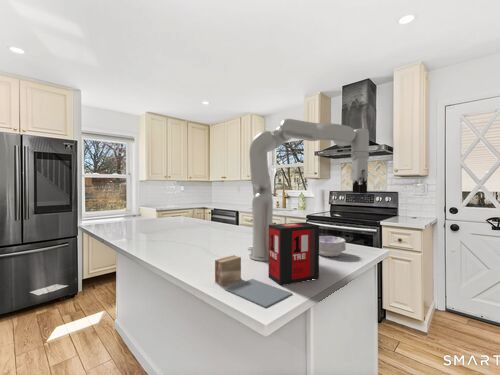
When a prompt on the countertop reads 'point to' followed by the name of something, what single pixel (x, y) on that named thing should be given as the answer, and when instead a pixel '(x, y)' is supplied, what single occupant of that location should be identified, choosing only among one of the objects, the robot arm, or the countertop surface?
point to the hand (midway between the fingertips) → (359, 193)
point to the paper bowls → (331, 245)
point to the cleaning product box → (293, 252)
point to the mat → (258, 292)
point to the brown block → (227, 269)
